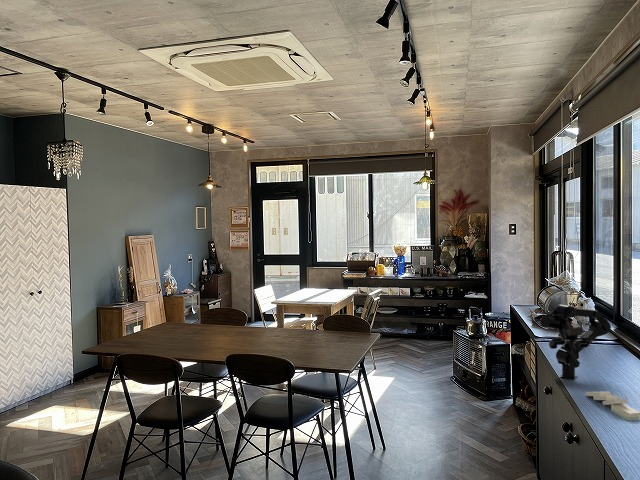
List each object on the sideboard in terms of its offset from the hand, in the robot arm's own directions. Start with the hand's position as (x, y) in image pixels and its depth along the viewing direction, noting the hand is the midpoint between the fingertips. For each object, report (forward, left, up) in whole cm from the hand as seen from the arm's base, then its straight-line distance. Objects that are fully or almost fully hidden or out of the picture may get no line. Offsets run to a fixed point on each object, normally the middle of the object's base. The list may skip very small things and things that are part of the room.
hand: (577, 358), depth 230 cm
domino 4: (+18, +21, -12) cm, 30 cm away
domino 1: (+7, +8, -13) cm, 17 cm away
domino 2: (+11, +12, -13) cm, 20 cm away
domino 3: (+14, +17, -12) cm, 25 cm away
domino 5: (+18, +21, -13) cm, 31 cm away
